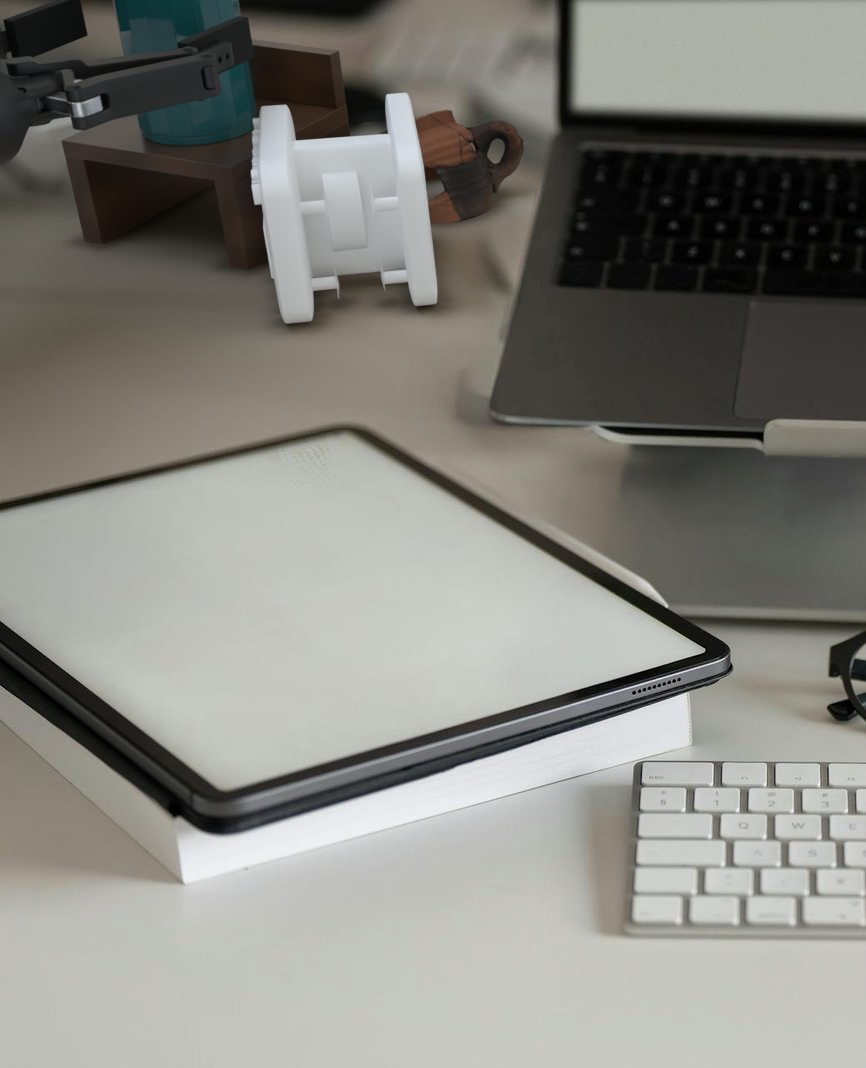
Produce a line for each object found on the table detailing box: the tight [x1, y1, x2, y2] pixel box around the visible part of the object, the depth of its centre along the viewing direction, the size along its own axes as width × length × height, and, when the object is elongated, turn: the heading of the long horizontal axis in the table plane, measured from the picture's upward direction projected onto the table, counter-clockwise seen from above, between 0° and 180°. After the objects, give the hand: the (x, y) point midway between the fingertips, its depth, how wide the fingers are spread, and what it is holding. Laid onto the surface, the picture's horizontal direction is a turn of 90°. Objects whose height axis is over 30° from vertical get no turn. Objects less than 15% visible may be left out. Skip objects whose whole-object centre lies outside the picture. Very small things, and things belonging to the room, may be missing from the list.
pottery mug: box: [379, 109, 525, 224], centre depth 129 cm, size 12×10×8 cm
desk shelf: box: [61, 38, 351, 271], centre depth 123 cm, size 14×14×12 cm
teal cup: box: [112, 0, 257, 146], centre depth 118 cm, size 8×8×11 cm
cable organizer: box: [251, 92, 438, 325], centre depth 114 cm, size 15×11×12 cm
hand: (161, 25), depth 115 cm, fingers open, 13 cm apart
